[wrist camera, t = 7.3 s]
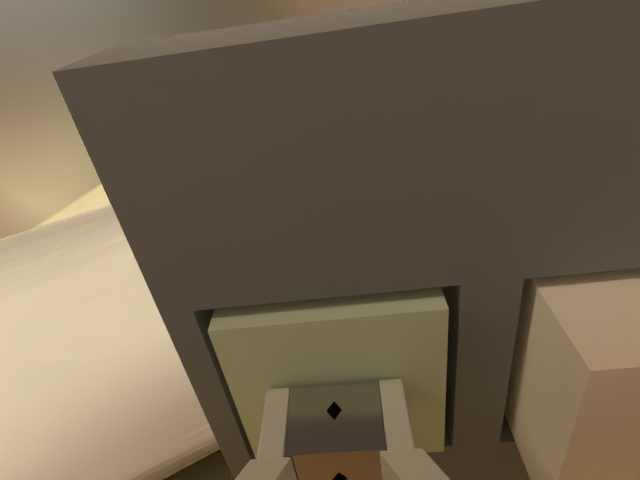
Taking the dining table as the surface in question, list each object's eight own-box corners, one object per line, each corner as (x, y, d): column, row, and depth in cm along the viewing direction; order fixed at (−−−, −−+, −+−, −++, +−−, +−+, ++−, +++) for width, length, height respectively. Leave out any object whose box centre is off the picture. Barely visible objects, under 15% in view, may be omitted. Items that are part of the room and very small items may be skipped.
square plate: (378, 408, 21) (373, 351, 19) (-508, 975, 11) (-731, 988, 9) (205, 208, 41) (193, 170, 39) (-155, 338, 31) (-197, 297, 29)
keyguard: (273, 567, 16) (51, 71, 6) (287, 400, 21) (183, 17, 12) (888, 539, 14) (1766, -180, 5) (721, 367, 20) (971, -104, 11)
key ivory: (546, 519, 9) (590, 371, 7) (487, 372, 13) (503, 234, 10) (785, 507, 9) (927, 343, 6) (660, 358, 12) (721, 212, 10)
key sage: (257, 463, 11) (207, 331, 9) (272, 348, 15) (240, 228, 12) (443, 451, 11) (448, 308, 8) (416, 335, 14) (413, 208, 12)
